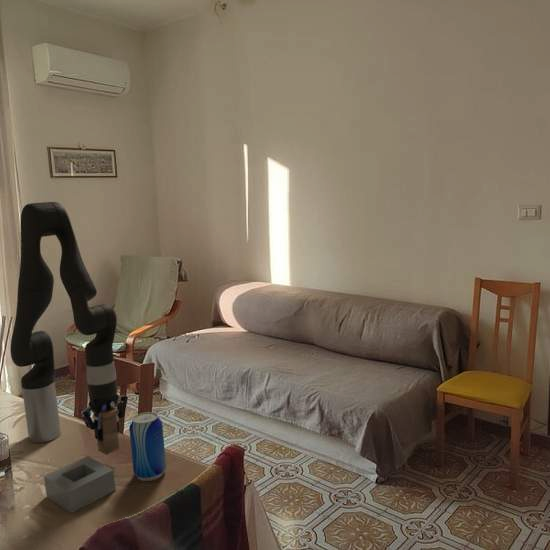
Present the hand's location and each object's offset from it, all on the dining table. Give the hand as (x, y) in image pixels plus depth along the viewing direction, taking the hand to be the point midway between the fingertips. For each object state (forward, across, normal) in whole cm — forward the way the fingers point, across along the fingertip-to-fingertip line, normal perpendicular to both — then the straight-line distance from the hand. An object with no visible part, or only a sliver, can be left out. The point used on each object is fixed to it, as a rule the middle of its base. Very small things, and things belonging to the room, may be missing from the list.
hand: (107, 437), depth 147 cm
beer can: (+8, -3, +14) cm, 17 cm away
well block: (+7, +13, +8) cm, 17 cm away
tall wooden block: (+4, 0, 0) cm, 4 cm away
